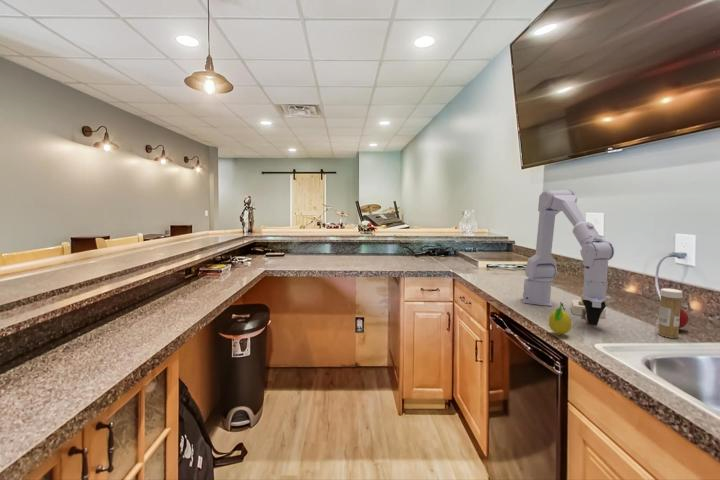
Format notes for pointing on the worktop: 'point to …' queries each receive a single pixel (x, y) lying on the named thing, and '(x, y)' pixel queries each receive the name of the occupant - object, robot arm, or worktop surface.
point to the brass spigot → (582, 299)
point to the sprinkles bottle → (669, 312)
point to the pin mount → (584, 313)
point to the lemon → (560, 321)
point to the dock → (578, 308)
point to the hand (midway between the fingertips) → (592, 324)
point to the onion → (683, 318)
